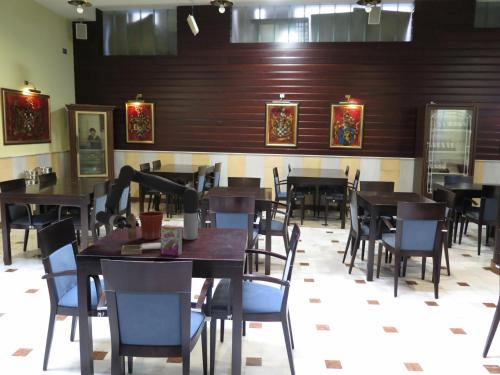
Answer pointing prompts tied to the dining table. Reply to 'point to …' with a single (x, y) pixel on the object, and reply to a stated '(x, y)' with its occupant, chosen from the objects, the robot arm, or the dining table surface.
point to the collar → (131, 249)
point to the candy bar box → (171, 240)
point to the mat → (151, 245)
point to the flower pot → (151, 224)
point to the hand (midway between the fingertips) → (134, 225)
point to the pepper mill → (132, 227)
